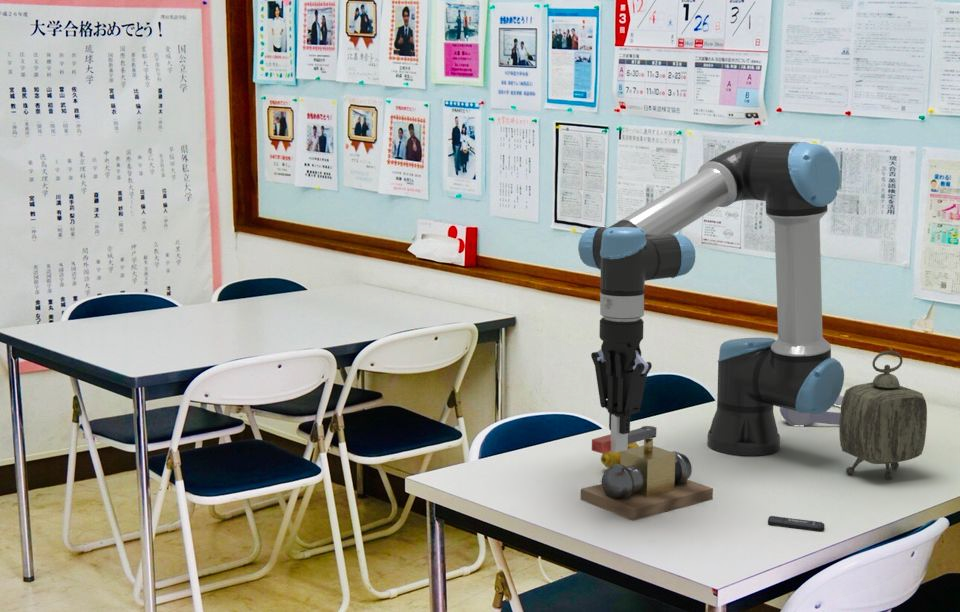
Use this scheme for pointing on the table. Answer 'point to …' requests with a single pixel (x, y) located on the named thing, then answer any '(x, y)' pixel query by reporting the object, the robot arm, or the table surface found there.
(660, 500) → the valve plinth
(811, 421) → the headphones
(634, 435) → the valve lever
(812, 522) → the usb stick
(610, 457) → the pressure relief valve
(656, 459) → the pipe valve
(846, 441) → the tabletop clock
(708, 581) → the table surface
